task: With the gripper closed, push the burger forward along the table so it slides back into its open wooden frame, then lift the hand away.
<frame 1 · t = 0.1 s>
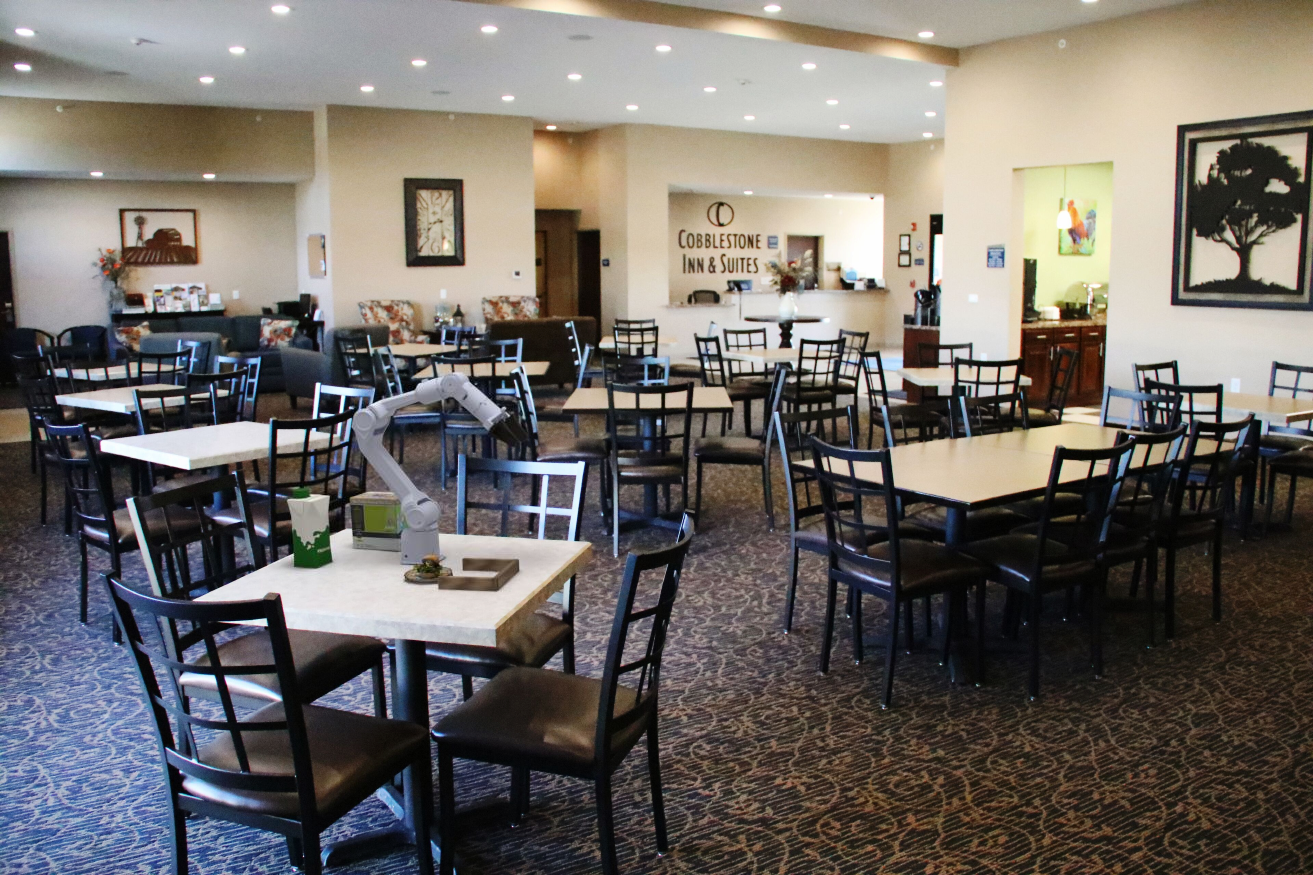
hand: (521, 442, 264), 32 cm above the table, tool tilted 50°, fingers open, 7 cm apart
milk carton: (313, 564, 273), on the table
open wooden frame: (478, 579, 255), on the table
burger: (429, 579, 258), on the table
tea box: (385, 546, 290), on the table
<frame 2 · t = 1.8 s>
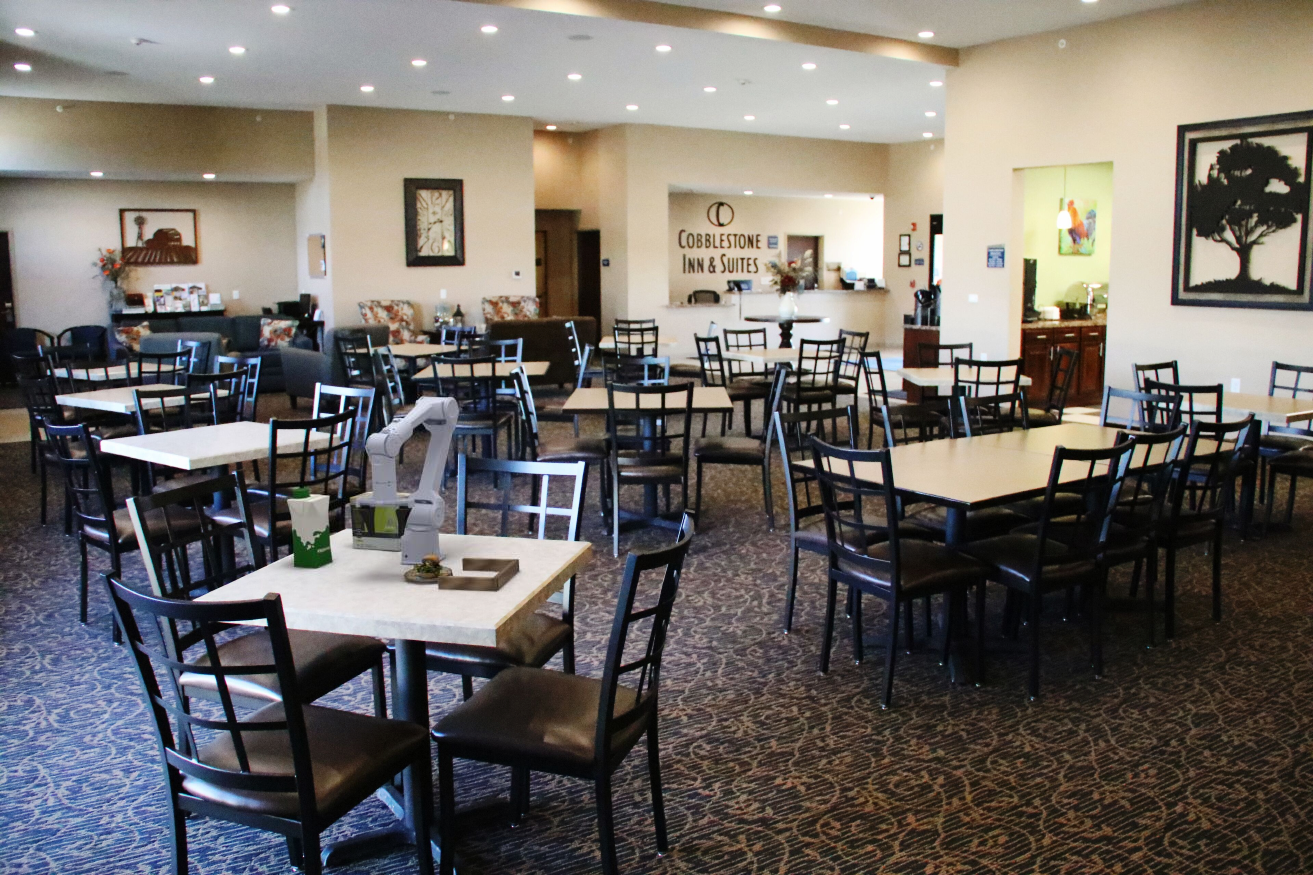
hand: (386, 535, 257), 11 cm above the table, tool pointing down, fingers open, 7 cm apart
nothing on the table moved.
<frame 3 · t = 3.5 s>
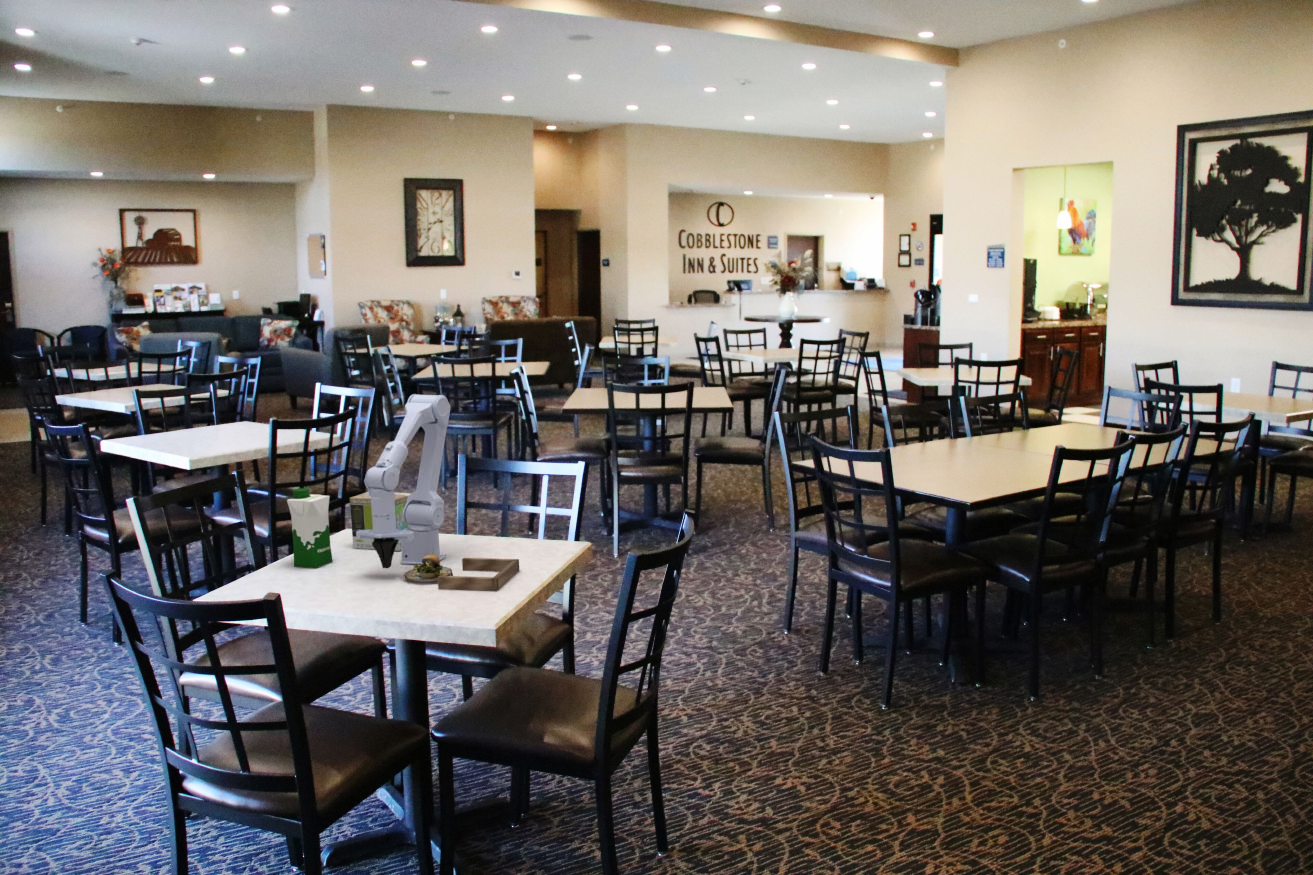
hand: (387, 567, 259), 2 cm above the table, tool pointing down, fingers closed
nothing on the table moved.
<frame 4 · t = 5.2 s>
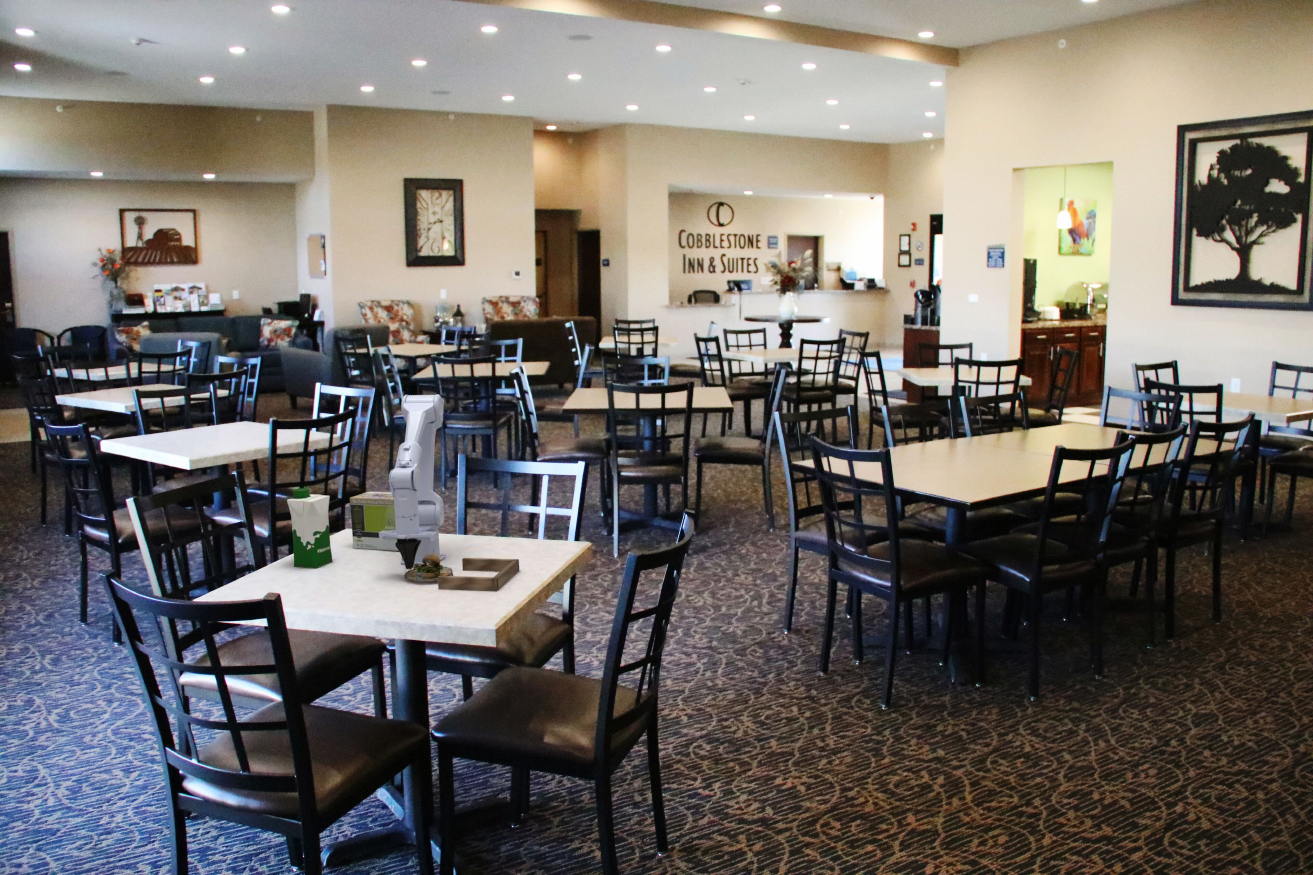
hand: (409, 568, 258), 2 cm above the table, tool pointing down, fingers closed
burger: (429, 579, 258), on the table, touching gripper
everything else where it was.
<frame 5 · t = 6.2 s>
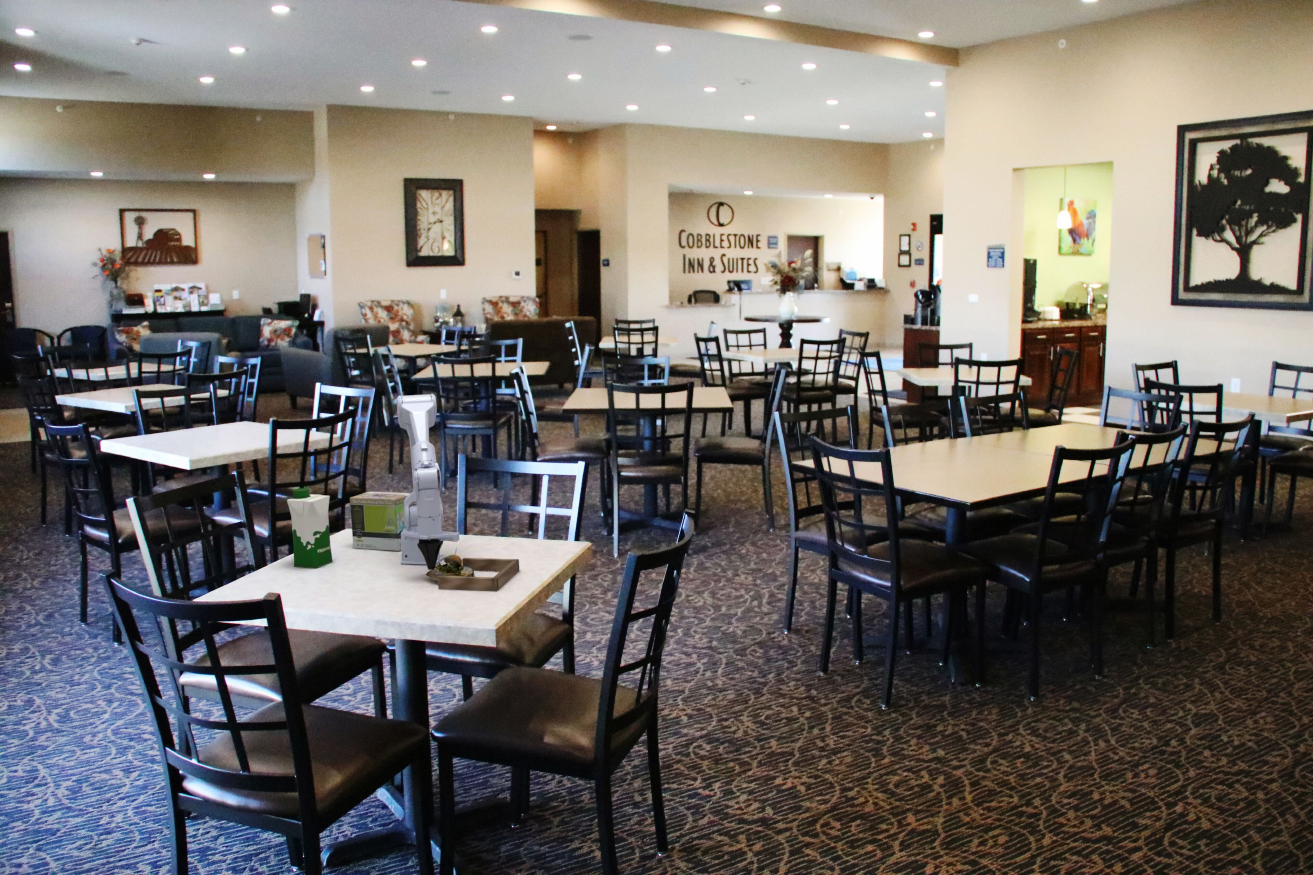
hand: (431, 568, 257), 2 cm above the table, tool pointing down, fingers closed
burger: (450, 579, 257), on the table, touching gripper
everything else where it was.
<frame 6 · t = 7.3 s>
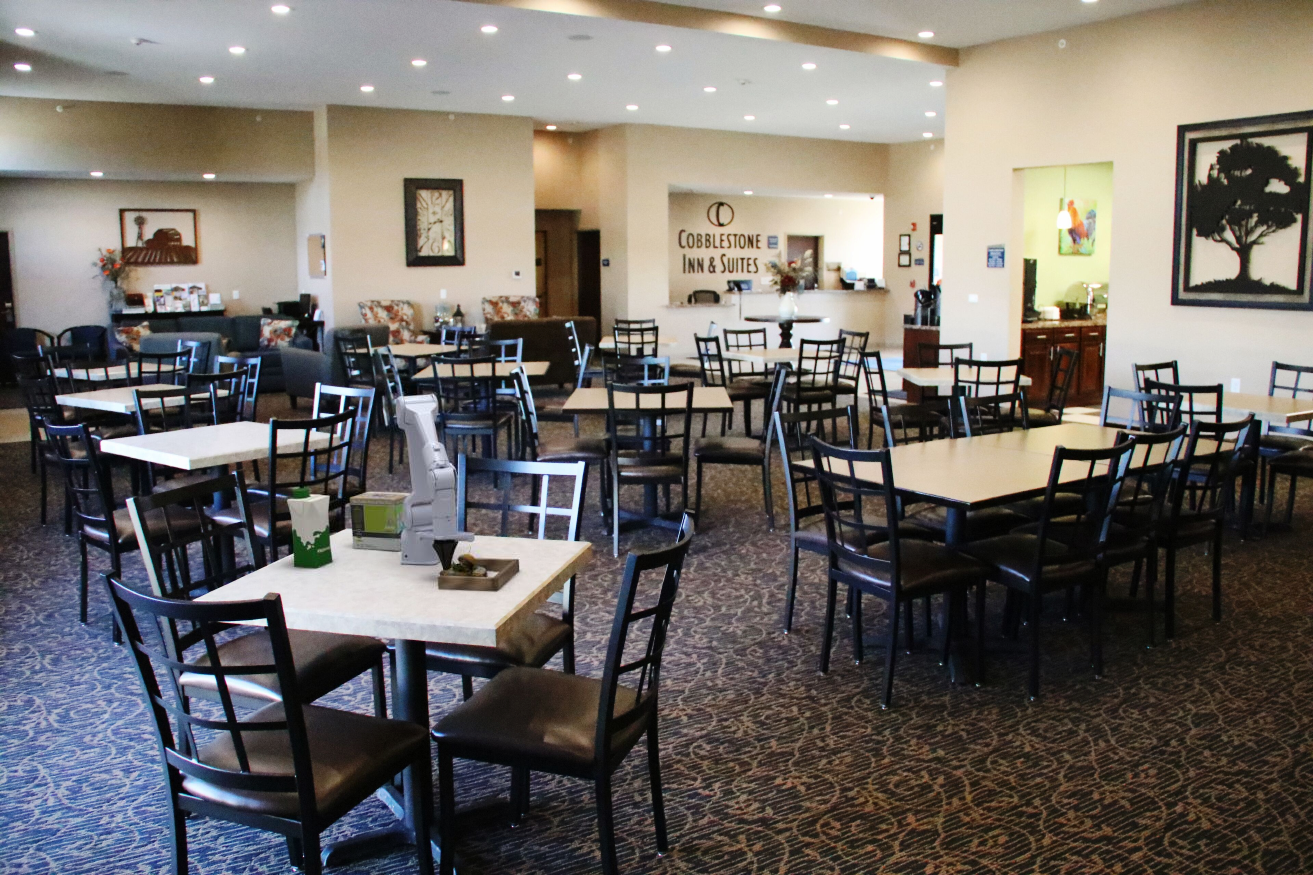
hand: (446, 569, 257), 2 cm above the table, tool pointing down, fingers closed
burger: (463, 579, 258), on the table, touching gripper
everything else where it was.
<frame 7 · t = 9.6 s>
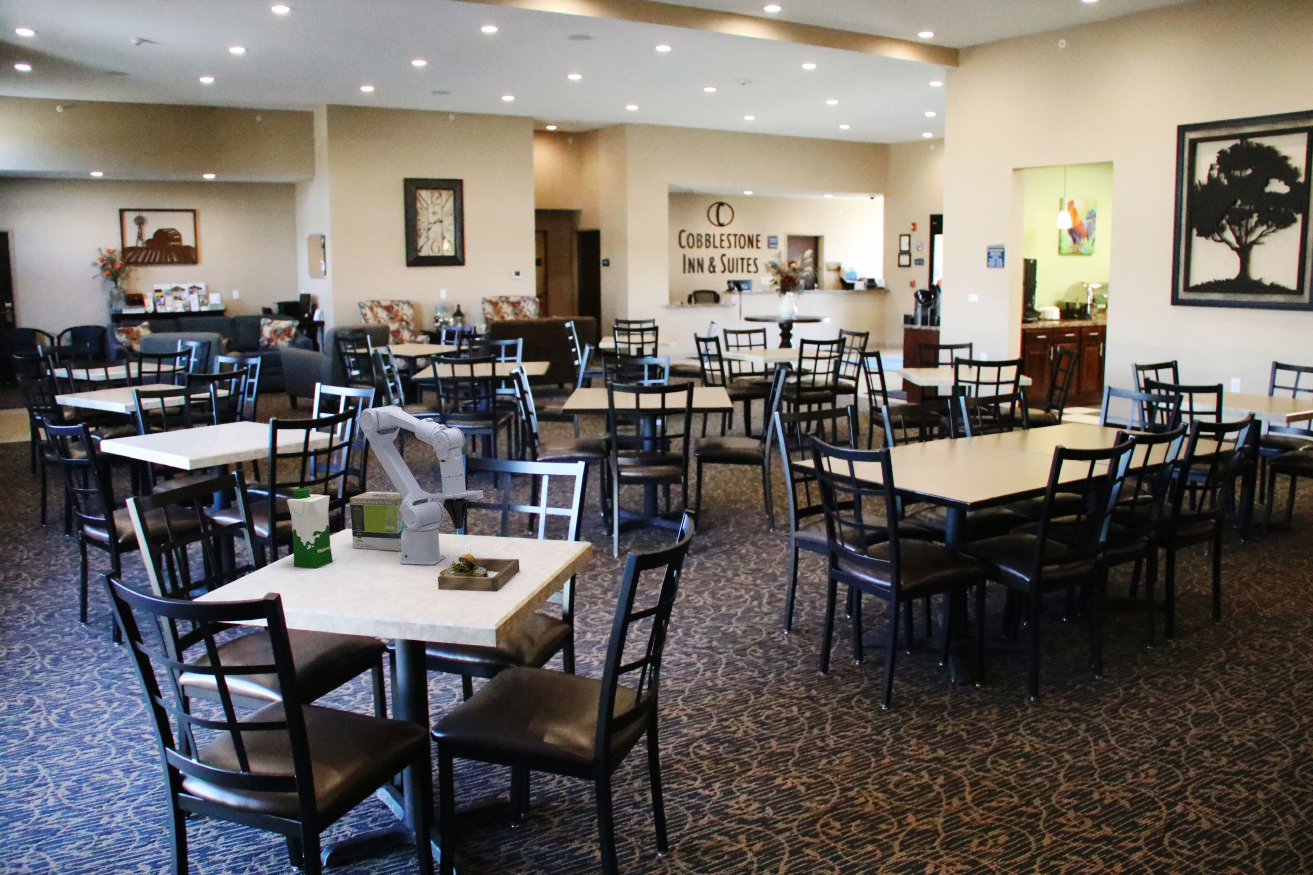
hand: (459, 528, 265), 10 cm above the table, tool pointing down, fingers closed
burger: (464, 579, 258), on the table
everything else where it was.
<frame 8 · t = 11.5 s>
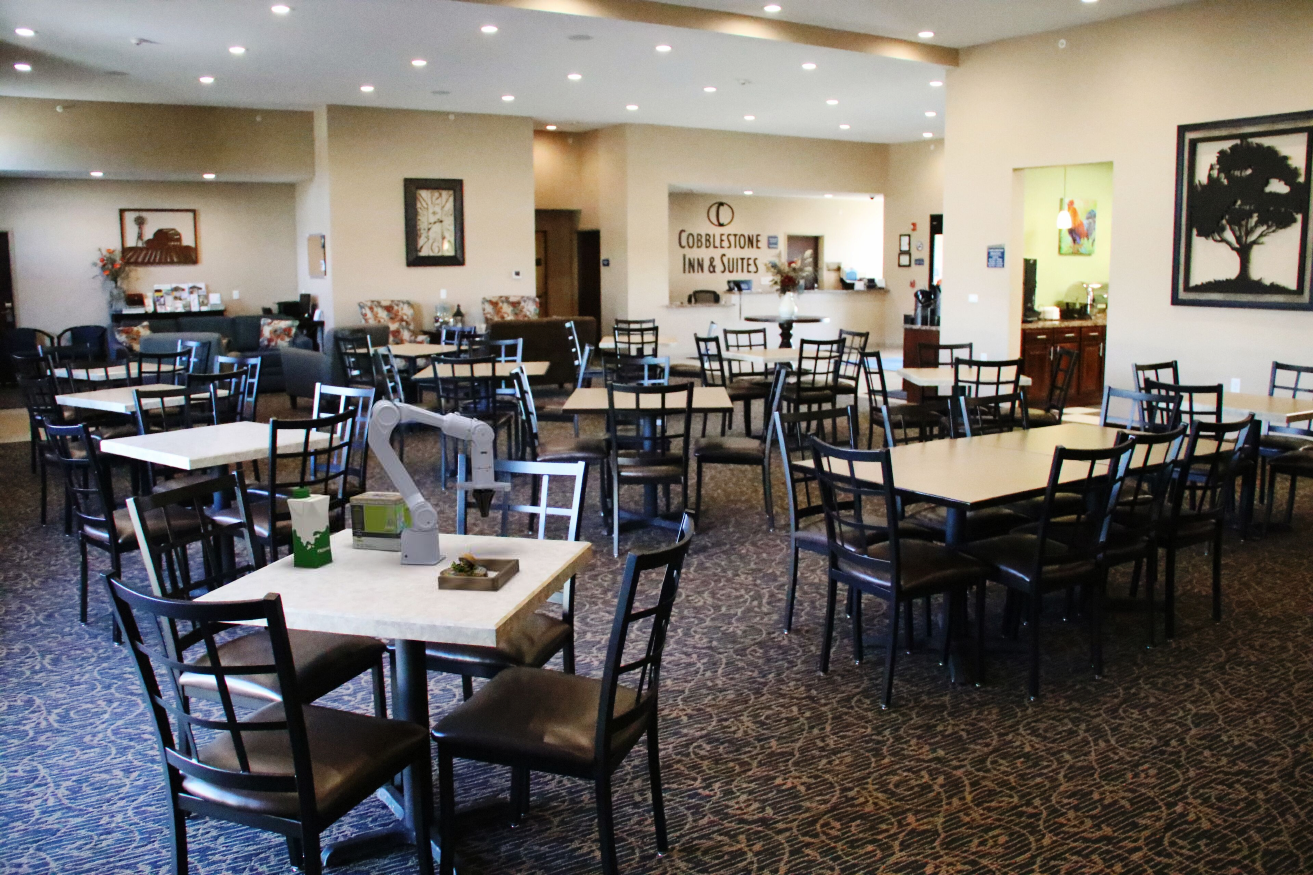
hand: (485, 516, 277), 10 cm above the table, tool pointing down, fingers closed
nothing on the table moved.
at the end: burger inside the target area (5.2 cm from its centre), on the table; burger moved 8.8 cm from its start; the gripper is holding nothing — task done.
